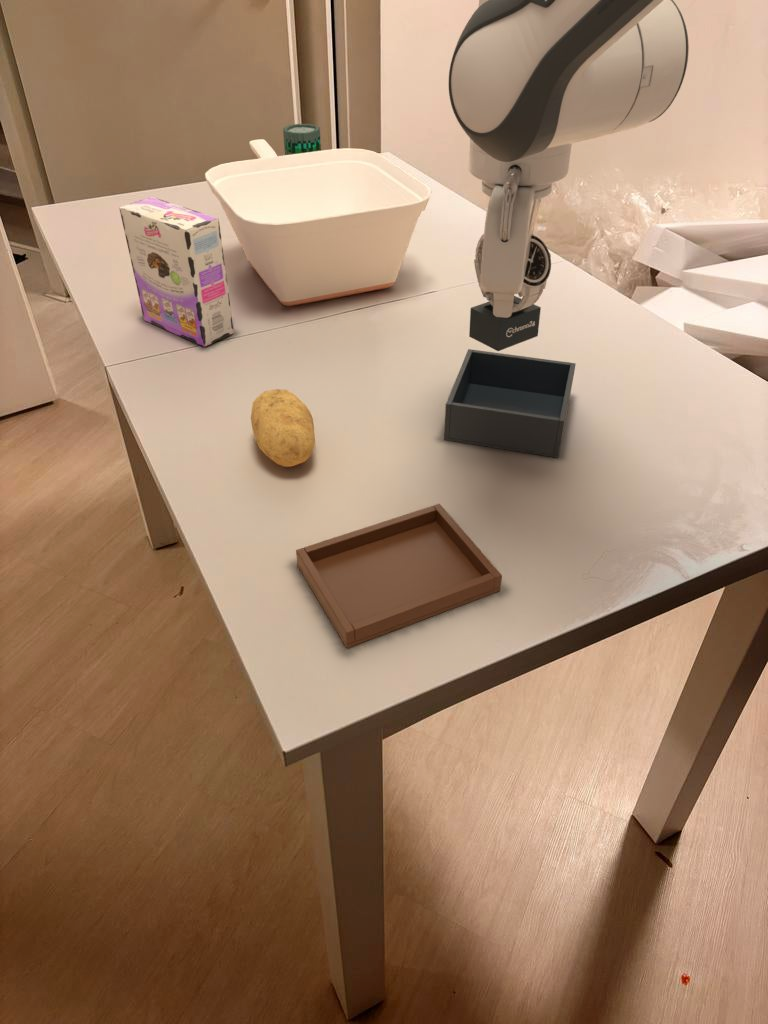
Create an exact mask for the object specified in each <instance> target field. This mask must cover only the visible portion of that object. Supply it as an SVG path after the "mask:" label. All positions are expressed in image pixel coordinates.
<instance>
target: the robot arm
mask: <svg viewBox="0 0 768 1024" xmlns="http://www.w3.org/2000/svg"><path fill="white" fill-rule="evenodd" d="M689 50H690V49H689V36H688V30H687V25H686V22H685V19H684V16H683V14H682V11H681V10H680V8H679V7H678V5H677V3H676V2H675V1H674V0H479V1H478V7H477V8H476V10H474V12H473V13H472V14H471V17H470V18H469V19H468V21H467V23H466V24H465V26H464V28H463V30H462V32H461V33H460V36H459V38H458V40H457V42H456V44H455V47H454V51H453V54H452V56H451V57H452V58H451V61H450V66H449V72H448V95H449V101H450V105H451V108H452V112H453V114H454V117H455V118H456V120H457V122H458V124H459V125H460V127H461V129H462V131H463V132H464V133H465V134H466V135H467V136H468V138H469V153H468V154H469V155H468V172H469V173H470V174H471V175H472V176H473V177H474V178H476V179H478V180H480V181H481V191H482V193H483V194H485V195H486V196H488V197H490V198H489V200H488V203H487V209H486V213H485V220H484V230H483V234H484V239H483V250H482V262H481V276H480V283H481V288H482V290H483V291H485V292H491V293H493V297H494V304H493V314H494V316H496V317H504V318H508V317H510V316H511V315H512V310H513V302H514V296H515V295H518V293H519V292H520V291H521V289H522V285H523V281H524V276H525V271H526V266H527V261H528V257H529V252H530V245H531V236H532V233H533V234H534V231H535V226H536V221H537V216H538V213H539V209H540V205H541V202H542V199H544V198H547V197H548V196H549V195H551V193H552V189H553V183H556V182H559V181H560V180H563V179H564V178H566V177H567V175H568V173H569V168H570V161H571V153H572V146H573V145H572V144H575V143H578V142H583V141H588V140H593V139H596V138H600V137H604V136H607V135H612V134H613V135H614V134H617V133H621V132H625V131H629V130H632V129H633V130H634V129H636V128H639V127H641V126H643V125H646V124H648V123H651V122H654V121H655V120H657V119H658V118H660V117H662V115H663V114H665V112H666V111H667V110H669V108H670V107H671V106H672V104H673V102H674V100H675V99H676V97H677V96H678V93H679V91H680V90H681V88H682V85H683V82H684V79H685V76H686V72H687V68H688V63H689V62H688V61H689ZM507 240H508V241H507ZM503 241H504V242H505V241H507V242H505V243H504V242H503Z"/></svg>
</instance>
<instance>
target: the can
mask: <svg viewBox="0 0 768 1024" xmlns="http://www.w3.org/2000/svg"><path fill="white" fill-rule="evenodd" d="M282 134H283V135H282V136H283V146H284V147H283V149H284V155H292V154H299V153H307V152H315V151H322V148H321V147H322V145H321V127H320V126H317V125H316V124H312V123H295V124H289V125H285V126H284V127H283V128H282Z"/></svg>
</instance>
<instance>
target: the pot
mask: <svg viewBox="0 0 768 1024" xmlns="http://www.w3.org/2000/svg"><path fill="white" fill-rule="evenodd" d="M248 143H249V144H248V145H249V148H250V149H251V151H252V152H253V153H254V155H255V156H256V158H253V159H246V160H237V161H231V162H226V163H221V164H218V165H215V166H213V167H210V168H209V169H208V170H206V172H205V173H204V176H205V180H206V183H207V185H208V187H209V189H210V190H211V193H212V194H213V195H214V196H215V197H216V199H217V200H218V201H219V203H220V206H221V207H222V210H223V211H224V213H225V215H226V217H227V220H228V222H229V224H230V225H231V228H232V230H233V232H234V234H235V236H236V238H237V240H238V242H239V244H240V246H241V249H242V250H243V252H244V254H245V257H246V258H247V262H248V263H249V265H250V266H251V267H252V268H253V270H254V271H255V273H256V274H257V276H259V278H260V279H261V280H262V281H263V282H264V284H265V285H266V286H267V288H268V289H269V290H270V291H271V293H272V294H273V295H274V296H275V298H276V299H277V300H278V302H279V303H281V304H283V305H284V306H286V307H292V306H293V307H294V306H299V305H304V304H309V303H315V302H321V301H326V300H332V299H338V298H343V297H347V296H352V295H357V294H361V293H366V292H373V291H377V290H384V289H387V288H388V289H389V288H390V287H392V286H393V285H394V284H395V283H396V281H397V278H398V275H399V273H400V269H401V267H402V264H403V262H404V258H405V256H406V253H407V250H408V248H409V244H410V242H411V239H412V236H413V233H414V232H415V228H416V225H417V222H418V220H419V218H420V217H421V214H422V212H423V211H425V210H426V208H427V206H428V203H429V201H430V198H431V195H432V192H433V191H432V190H431V189H430V187H429V186H428V185H427V184H425V183H423V182H422V181H421V180H419V179H418V178H416V177H415V176H414V175H412V174H410V173H409V172H407V171H406V170H404V169H403V168H401V166H399V165H398V164H395V163H394V162H393V161H391V160H390V159H388V158H387V157H385V156H384V155H383V154H380V153H379V152H376V151H374V150H370V149H369V150H368V149H363V148H350V147H349V148H348V147H346V148H333V149H332V148H331V149H324V150H321V151H315V152H307V153H299V154H292V155H285V154H283V155H278V154H277V153H276V151H275V150H274V149H273V147H272V146H271V145H270V144H269V142H268V141H266V139H264V138H262V139H260V138H259V139H253V140H250V141H249V142H248Z"/></svg>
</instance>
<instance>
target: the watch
mask: <svg viewBox="0 0 768 1024" xmlns="http://www.w3.org/2000/svg"><path fill="white" fill-rule="evenodd" d="M483 239H484V233H482V234H481V236H480V238H479V239H478V241H477V243H476V247H475V255H474V257H475V258H474V260H473V262H474V263H473V264H474V269H475V275H476V279H477V283H478V287H479V289H480V292H481V294H482V297H483V298H486V300H487V302H483V303H481V304H478V305H475V306H472V307H470V313H469V314H470V315H469V330H468V331H469V334H468V337H469V338H471V339H473V340H475V341H477V342H479V343H481V344H483V345H485V346H487V347H489V348H491V349H492V350H495V351H496V352H500V351H503V350H505V349H508V348H511V347H514V346H516V345H518V344H520V343H523V342H527V341H529V340H531V339H534V338H538V336H539V328H540V319H541V308H542V307H541V306H538V305H537V304H536V303H537V302H538V301H539V299H540V297H541V296H542V294H543V292H544V290H545V289H546V287H547V282H548V279H549V276H550V274H551V269H552V255H551V252H550V250H549V248H548V247H547V245H546V244H545V242H544V241H543V240H542V239H541V238H540V237H538V235H537V236H536V235H535V234H534V232H533V233H532V236H531V245H530V252H529V257H528V261H527V266H526V271H525V276H524V281H523V285H522V289H521V291H520V292H519V293H518V294H517V295H518V296H516V295H514V302H513V310H512V315H511V316H510V317H508V318H504V317H496V316H494V314H493V304H494V297H493V293H491V292H485V291H483V290H482V288H481V283H480V276H481V262H482V250H483ZM507 241H508V240H507ZM507 241H505V242H507ZM503 242H504V241H503ZM505 242H504V243H505Z"/></svg>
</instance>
